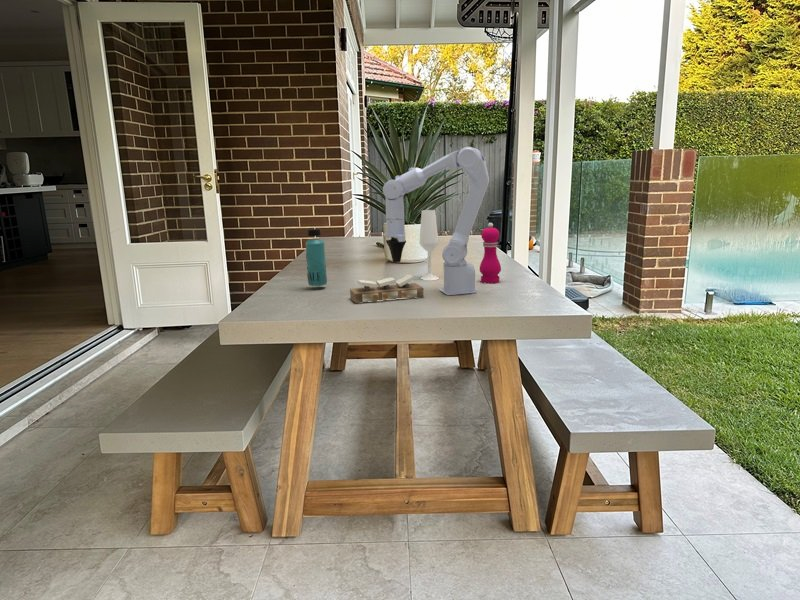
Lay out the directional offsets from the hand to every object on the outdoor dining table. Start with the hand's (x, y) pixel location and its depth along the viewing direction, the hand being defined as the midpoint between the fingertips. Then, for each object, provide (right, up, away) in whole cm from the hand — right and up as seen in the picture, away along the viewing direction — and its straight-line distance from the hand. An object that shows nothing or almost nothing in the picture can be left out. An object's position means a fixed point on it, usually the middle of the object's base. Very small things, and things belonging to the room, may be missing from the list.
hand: (396, 261), depth 176 cm
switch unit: (-3, -12, -8) cm, 14 cm away
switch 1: (-9, -8, -10) cm, 16 cm away
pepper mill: (+32, -6, +12) cm, 34 cm away
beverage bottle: (-27, -9, +9) cm, 29 cm away
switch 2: (-3, -7, -9) cm, 12 cm away
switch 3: (+3, -7, -7) cm, 10 cm away
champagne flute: (+12, -5, +21) cm, 24 cm away
